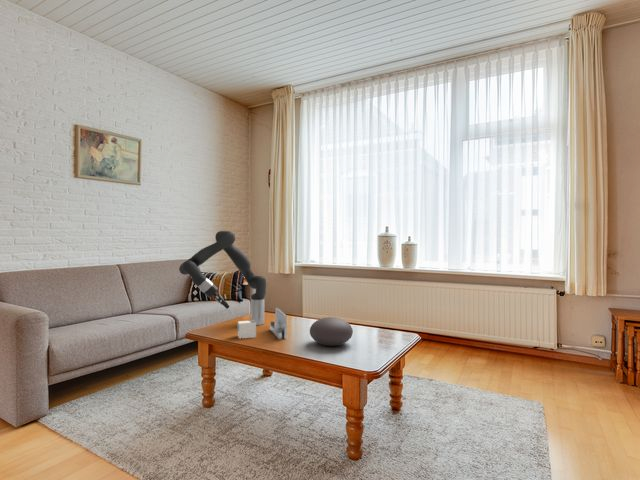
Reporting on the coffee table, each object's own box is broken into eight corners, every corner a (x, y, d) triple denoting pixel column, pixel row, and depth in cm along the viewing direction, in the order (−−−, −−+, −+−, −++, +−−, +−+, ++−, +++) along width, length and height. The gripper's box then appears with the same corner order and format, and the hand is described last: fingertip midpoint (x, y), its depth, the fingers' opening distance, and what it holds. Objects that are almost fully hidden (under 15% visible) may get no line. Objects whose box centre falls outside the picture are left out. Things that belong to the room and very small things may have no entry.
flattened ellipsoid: (358, 341, 212) (358, 315, 211) (343, 353, 189) (344, 325, 189) (320, 336, 222) (320, 311, 221) (301, 347, 199) (302, 320, 199)
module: (236, 336, 219) (237, 320, 219) (254, 334, 223) (254, 319, 223) (238, 338, 214) (238, 322, 214) (255, 337, 217) (256, 321, 217)
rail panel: (269, 329, 235) (269, 308, 235) (277, 328, 237) (277, 307, 237) (278, 339, 213) (278, 315, 213) (286, 338, 215) (286, 315, 215)
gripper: (213, 284, 204) (233, 303, 208) (211, 281, 218) (230, 299, 222) (203, 293, 202) (224, 313, 206) (202, 290, 216) (221, 308, 220)
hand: (227, 306), depth 214 cm, fingers open, 8 cm apart
